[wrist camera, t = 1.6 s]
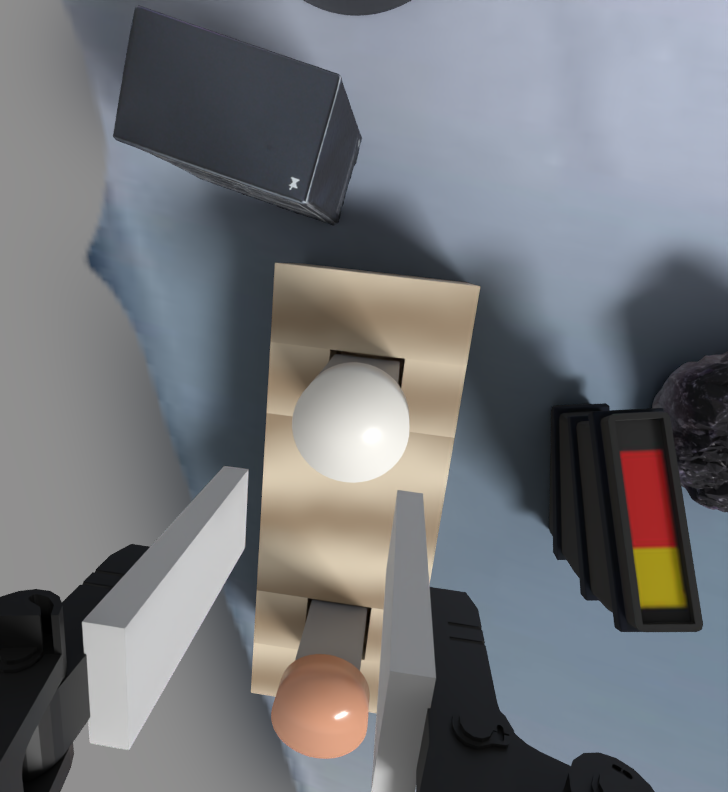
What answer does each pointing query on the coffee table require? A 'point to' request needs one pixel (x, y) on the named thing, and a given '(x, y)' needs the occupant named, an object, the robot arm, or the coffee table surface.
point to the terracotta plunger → (325, 685)
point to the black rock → (700, 427)
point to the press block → (343, 501)
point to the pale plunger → (352, 419)
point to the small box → (238, 115)
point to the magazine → (623, 515)
